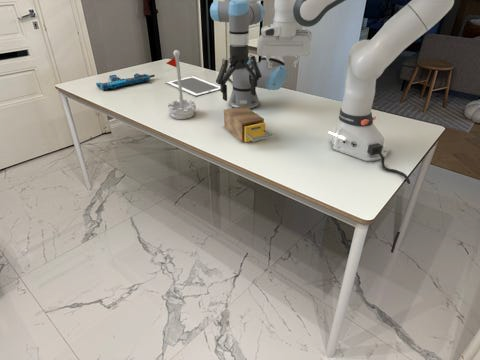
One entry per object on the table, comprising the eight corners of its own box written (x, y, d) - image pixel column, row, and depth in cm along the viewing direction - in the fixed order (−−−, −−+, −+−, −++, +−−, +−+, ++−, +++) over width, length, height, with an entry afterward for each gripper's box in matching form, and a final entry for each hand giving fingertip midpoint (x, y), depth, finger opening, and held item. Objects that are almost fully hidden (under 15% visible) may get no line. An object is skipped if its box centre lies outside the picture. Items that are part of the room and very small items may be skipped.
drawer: (272, 143, 138) (273, 128, 134) (252, 148, 134) (253, 133, 131) (247, 123, 154) (247, 110, 150) (228, 127, 150) (228, 114, 147)
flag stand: (192, 108, 172) (187, 46, 156) (199, 117, 162) (194, 52, 146) (166, 111, 169) (158, 48, 152) (172, 121, 158) (164, 54, 142)
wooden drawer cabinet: (263, 137, 145) (264, 118, 140) (241, 142, 141) (241, 123, 136) (244, 122, 157) (244, 105, 153) (224, 127, 153) (223, 109, 149)
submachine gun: (140, 68, 225) (159, 74, 209) (141, 73, 227) (159, 80, 211) (88, 78, 207) (104, 85, 190) (90, 84, 209) (106, 92, 192)
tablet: (166, 82, 208) (166, 82, 207) (193, 76, 219) (193, 76, 219) (195, 96, 187) (195, 95, 187) (224, 88, 198) (224, 87, 198)
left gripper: (261, 39, 140) (259, 90, 152) (205, 46, 130) (208, 99, 142) (271, 43, 135) (268, 94, 146) (214, 50, 125) (216, 105, 136)
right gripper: (310, 28, 129) (306, 65, 137) (257, 28, 128) (255, 65, 136) (314, 31, 124) (309, 69, 131) (258, 31, 123) (257, 69, 131)
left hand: (239, 97), depth 144 cm, fingers open, 13 cm apart
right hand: (281, 67), depth 134 cm, fingers open, 8 cm apart
